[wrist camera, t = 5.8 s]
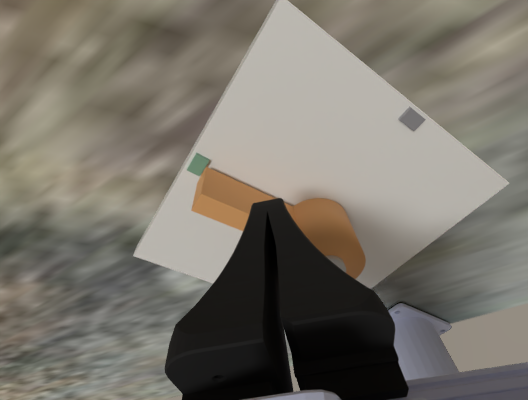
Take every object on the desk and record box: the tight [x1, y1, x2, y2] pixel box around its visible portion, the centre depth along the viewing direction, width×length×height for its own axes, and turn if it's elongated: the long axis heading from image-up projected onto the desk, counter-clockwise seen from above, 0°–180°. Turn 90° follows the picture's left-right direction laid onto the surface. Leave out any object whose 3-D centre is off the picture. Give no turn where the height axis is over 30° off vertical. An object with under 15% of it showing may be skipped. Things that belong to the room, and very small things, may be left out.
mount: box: [133, 0, 509, 289], centre depth 20 cm, size 18×18×1 cm
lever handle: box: [191, 167, 366, 279], centre depth 17 cm, size 10×4×4 cm, turn 59°
